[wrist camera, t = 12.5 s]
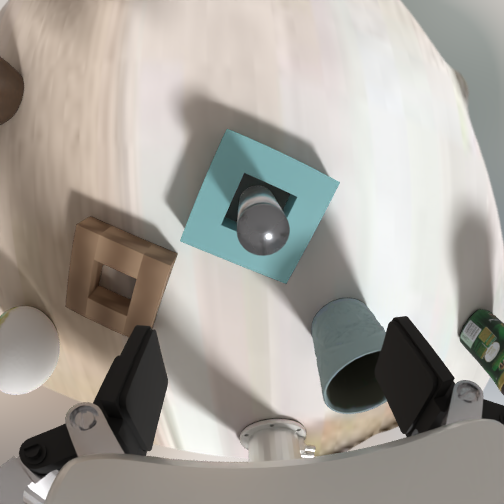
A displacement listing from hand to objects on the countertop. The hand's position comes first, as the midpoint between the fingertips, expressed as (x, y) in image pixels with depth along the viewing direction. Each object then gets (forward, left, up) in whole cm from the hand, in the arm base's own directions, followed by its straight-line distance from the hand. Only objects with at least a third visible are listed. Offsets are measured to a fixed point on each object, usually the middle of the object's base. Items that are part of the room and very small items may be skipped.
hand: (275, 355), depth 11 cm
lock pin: (0, -1, -22) cm, 22 cm away
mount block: (+12, +14, -22) cm, 29 cm away
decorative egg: (+25, +31, -23) cm, 46 cm away
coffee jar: (-46, +1, -23) cm, 51 cm away
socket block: (0, -1, -22) cm, 22 cm away
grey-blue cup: (-17, +9, -23) cm, 30 cm away
